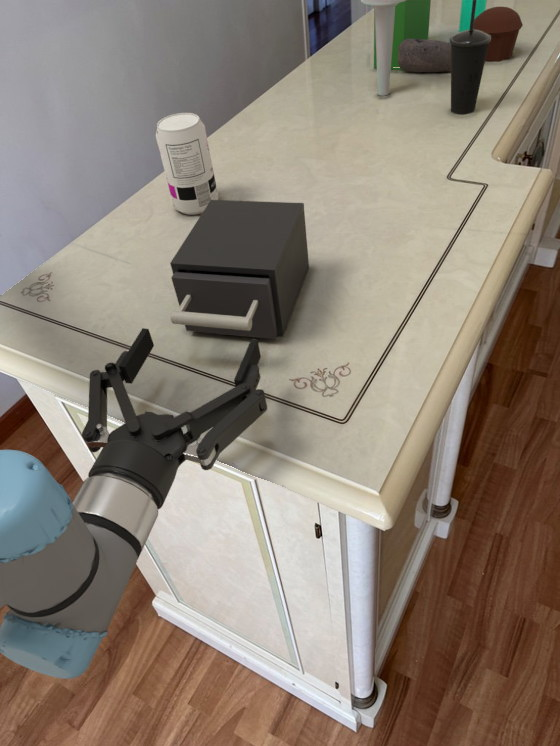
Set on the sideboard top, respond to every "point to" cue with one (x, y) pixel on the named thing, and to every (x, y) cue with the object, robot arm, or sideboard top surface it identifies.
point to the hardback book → (407, 26)
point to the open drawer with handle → (225, 303)
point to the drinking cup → (467, 66)
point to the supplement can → (186, 162)
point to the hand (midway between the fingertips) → (201, 342)
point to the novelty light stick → (383, 40)
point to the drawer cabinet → (251, 247)
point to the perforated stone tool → (424, 55)
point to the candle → (466, 13)
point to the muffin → (499, 31)
